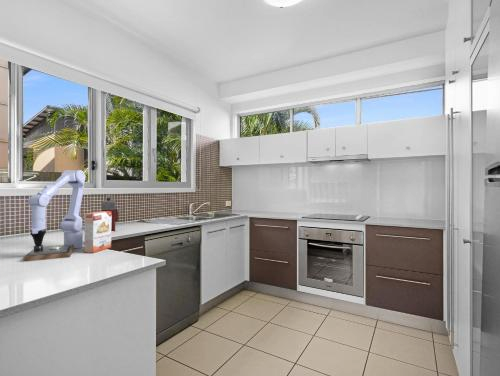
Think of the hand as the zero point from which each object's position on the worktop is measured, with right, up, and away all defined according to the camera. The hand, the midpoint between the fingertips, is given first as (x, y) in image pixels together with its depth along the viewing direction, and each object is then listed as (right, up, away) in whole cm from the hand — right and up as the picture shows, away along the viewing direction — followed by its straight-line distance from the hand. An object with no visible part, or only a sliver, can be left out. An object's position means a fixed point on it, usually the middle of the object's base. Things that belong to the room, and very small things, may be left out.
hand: (38, 246), depth 136 cm
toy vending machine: (-3, -5, +76) cm, 76 cm away
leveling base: (+4, -5, +2) cm, 7 cm away
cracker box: (+22, -6, +14) cm, 27 cm away
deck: (+5, -3, +3) cm, 6 cm away
